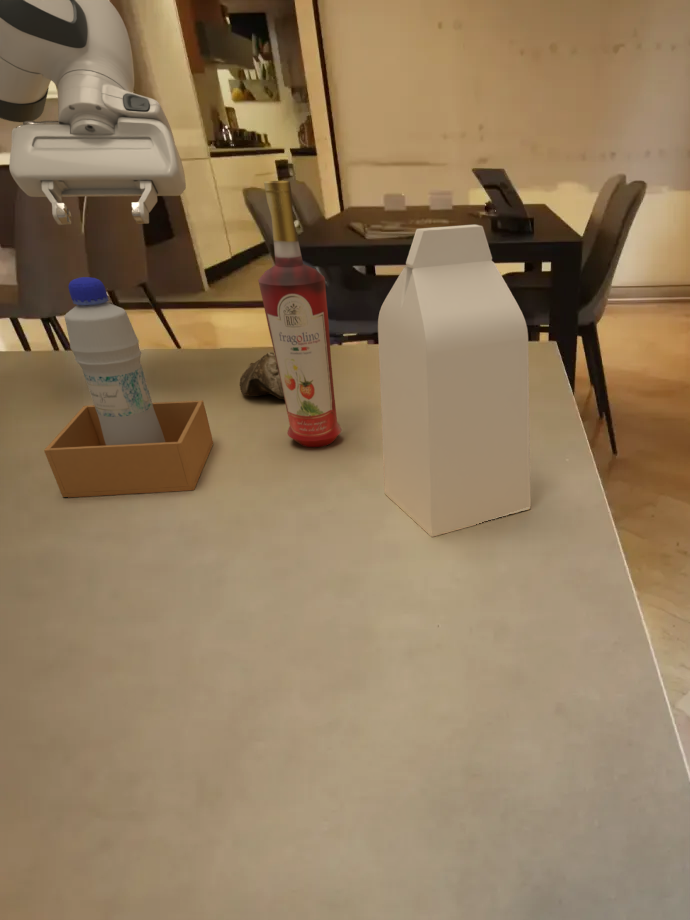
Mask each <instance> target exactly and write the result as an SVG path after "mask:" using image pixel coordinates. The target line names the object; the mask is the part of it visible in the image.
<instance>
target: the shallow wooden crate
mask: <svg viewBox="0 0 690 920" xmlns="http://www.w3.org/2000/svg"><path fill="white" fill-rule="evenodd" d="M152 404H153V408H154V411H155V414H156V416H157V419H158V422H159V424H160V427H161V430H162V432H163V436H164V439H165V442H164V443H144V444H125V445H106V444H105V440H104V437H103V433H102V429H101V425H100V421H99V417H98V414H97V412H96V409H95V406H94V404H91V405H89V404H88V405H83V406H82V407H81V409H79V411H77V413H76V414H75V415H74V416H73V417H72V419H70V421H69V422H67V424H66V425H65V426H63V428H62V429H61V430H60V432H59V433H58V434H57V435H56V436H54V439H52V441H50V443H49V444H48V445H47V446H46V447H45V448H44V449H43V452H44V454H45V457H46V459H47V461H48V464H49V467H50V469H51V472H52V473H53V476H54V479H55V481H56V484H57V487H58V489H59V492H60V494H61V497H62V498H63V497H68V498H83V497H98V496H99V497H100V496H114V495H115V496H116V495H117V496H119V495H132V494H133V495H135V494H150V493H168V492H185V491H186V492H187V491H194V490H195V489H196V487H197V484H198V482H199V479H200V477H201V474H202V472H203V469H204V468H205V465H206V462H207V460H208V458H209V455H210V454H211V453H210V452H211V450H212V448H213V445H214V439H213V434H212V432H211V427H210V423H209V419H208V415H207V410H206V407H205V403H204V400H202V399H201V400H182V401H181V400H179V401H178V400H177V401H159V402H156V401H155V402H152Z"/></svg>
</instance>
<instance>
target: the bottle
mask: <svg viewBox="0 0 690 920" xmlns="http://www.w3.org/2000/svg"><path fill="white" fill-rule="evenodd" d="M68 292H69V295H70V298H71V300H72V304H73V305H75V306H74V307H73V308H71V309H70V310H69V311H68V312H66V313H65V314H64V322H65V326H66V327H65V328H66V331H67V336H68V342H69V349H70V350H71V351H72V353H73V356H74V360H75V362H76V363H77V364H78V366H80V368H81V370H82V374H83V376H84V379H85V382H86V386H87V388H88V392H89V394H90V396H91V400H92V402H93V405H94V406H95V409H96V412H97V414H98V417H99V421H100V425H101V429H102V433H103V437H104V440H105V444H106V445H125V444H144V443H164V442H165V439H164V436H163V432H162V430H161V427H160V424H159V422H158V419H157V416H156V414H155V411H154V408H153V404H152V403H153V401H152V397H151V394H150V389H149V387H148V383H147V379H146V376H145V373H144V370H143V366H142V363H141V356H142V351H141V350H140V349H141V348H140V345H139V343H140V341H139V338H138V337H137V335H136V332H135V330H134V328H133V327H134V326H133V325H132V322H131V321H130V320H131V319H130V318H129V315H128V314H127V311H126V310H125V309H124V308H123V307H120V306H117V305H115V304H113V303H110V302H109V297H108V292H107V290H106V286H105V285H104V283H103V282H102V281H101V279H98V278H96V277H90V276H82V277H77V278H74V279H72V280H70V281H69V283H68Z"/></svg>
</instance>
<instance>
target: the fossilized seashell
mask: <svg viewBox="0 0 690 920" xmlns="http://www.w3.org/2000/svg"><path fill="white" fill-rule="evenodd" d="M239 390H240V392H241V394H242V395H243V396H257V397H258V396H267V395H272V396H274V397H276V398H278V399H280V400H285V399H284V394H283V389H282V385H281V380H280V375H279V370H278V366H277V361H276V357H275V353H274V352H269V351H268V352H266V353H265V354H264V355H263V356H262V357H260V358H259V359H257V360H256V361H255V362H250V364H249V366H248V367H247V368H246V369H245V370H244V372H243V373H242V375H241V376H240V379H239Z"/></svg>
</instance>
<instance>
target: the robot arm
mask: <svg viewBox="0 0 690 920" xmlns="http://www.w3.org/2000/svg"><path fill="white" fill-rule="evenodd" d="M51 82H52V83H54V84H55V86H56V88H57V114H58V115H57V117H58V119H57V120H43V121H36V120H37V119H39V118H40V117H41V116H42V115H43V113H44V110H45V106H46V102H47V97H48V93H49V90H50V89H49V88H50V84H51ZM134 89H135V70H134V58H133V52H132V45H131V39H130V35H129V33H128V29H127V27H126V25H125V23H124V20H123V18H122V16H121V15H120V13H119V11H118V10H117V8H116V7H115V5H113V3H112V2H111V1H110V0H0V119H1V120H4V121H8V122H13V123H22V124H19V125H17V126H16V127H13V128H12V130H11V148H10V154H9V163H8V165H9V167H8V168H9V172H10V175H11V177H12V178H13V181H15V183H16V185H17V186H18V187H19V188H20V190H22V192H24V194H25V195H27V196H28V197H31V198H42V197H43V198H47V200H48V201H49V203H50V204H51V213H52V217H53V219H54V221H55V222H56V224H57V225H59V226H61V225H62V226H63V225H72V220H71V219H72V213H71V211H70V209H69V208H68V206H67V205H66V203H65V202H62V201H63V200H62V198H64V197H71V198H72V197H140V198H138V199H139V200H138V201H134V202H133V201H132V202H131V209H132V210H131V215H132V218H133V219H134V220H135V224H138V225H139V224H141V225H143V224H149V223H150V214H149V213H151V211H152V210H153V208H154V207H155V206H156V204H157V203H158V197H179V196H181V195H182V194H183V193H184V192H185V190H186V188H187V184H186V175H185V170H184V164H183V162H182V158H181V156H180V153H179V151H178V148H177V145H176V142H175V138H174V134H173V131H172V128H171V124H170V122H169V121H168V117H167V116H166V114H165V112H164V110H163V108H162V106H161V103H159V101H158V100H156V99H155V98H153V97H152V98H151V97H148V96H145V95H141V94H137V93H135V92H134Z"/></svg>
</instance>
